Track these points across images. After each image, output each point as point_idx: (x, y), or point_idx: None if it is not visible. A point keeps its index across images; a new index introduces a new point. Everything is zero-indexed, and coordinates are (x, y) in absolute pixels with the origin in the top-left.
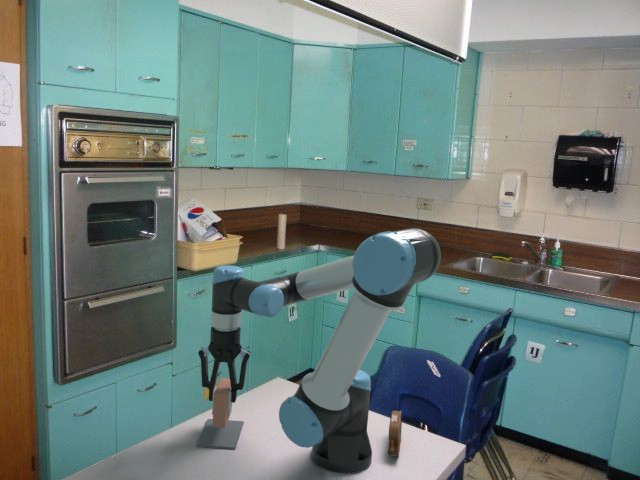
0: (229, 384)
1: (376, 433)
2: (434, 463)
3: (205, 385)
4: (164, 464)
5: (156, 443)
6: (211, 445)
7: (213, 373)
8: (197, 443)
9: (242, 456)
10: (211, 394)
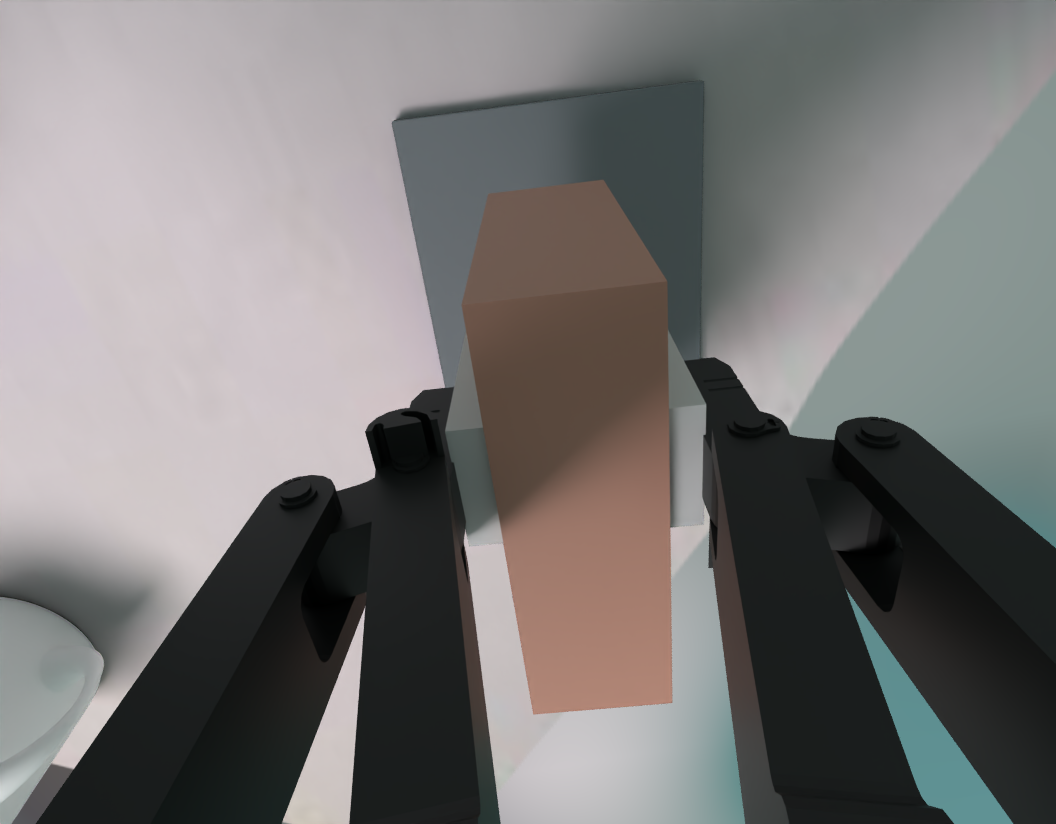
0: (531, 595)
1: None
2: None
3: (853, 436)
4: None
5: (1017, 50)
6: (578, 101)
7: (814, 609)
8: (694, 102)
9: (300, 30)
10: (713, 398)
